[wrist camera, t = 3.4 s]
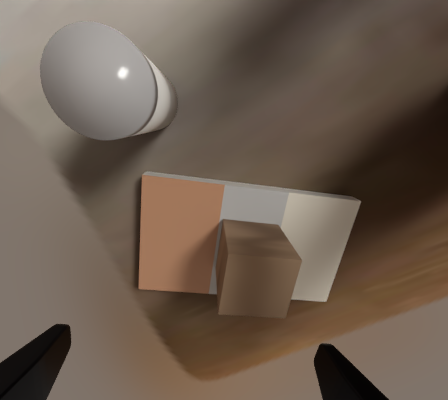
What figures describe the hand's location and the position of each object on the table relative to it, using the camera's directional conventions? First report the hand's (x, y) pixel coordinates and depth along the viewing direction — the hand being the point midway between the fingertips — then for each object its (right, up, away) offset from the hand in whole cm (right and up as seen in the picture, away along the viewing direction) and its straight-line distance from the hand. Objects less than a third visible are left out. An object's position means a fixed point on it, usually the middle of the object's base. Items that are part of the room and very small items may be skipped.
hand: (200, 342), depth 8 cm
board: (+3, +2, +12) cm, 12 cm away
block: (+3, +1, +11) cm, 11 cm away
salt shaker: (-4, +12, +8) cm, 15 cm away
